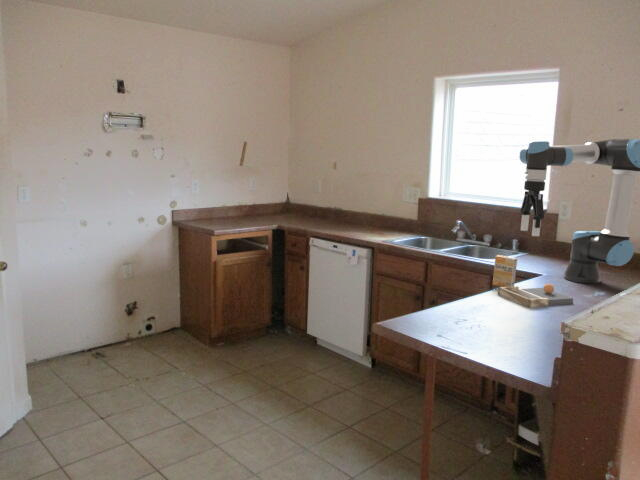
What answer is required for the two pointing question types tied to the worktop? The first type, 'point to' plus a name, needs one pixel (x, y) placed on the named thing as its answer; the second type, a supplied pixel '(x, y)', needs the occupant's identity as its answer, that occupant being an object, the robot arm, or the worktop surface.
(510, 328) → the worktop surface
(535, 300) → the wooden tray frame
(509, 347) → the worktop surface
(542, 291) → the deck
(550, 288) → the ball
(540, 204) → the robot arm
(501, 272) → the supplement box
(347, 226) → the worktop surface
